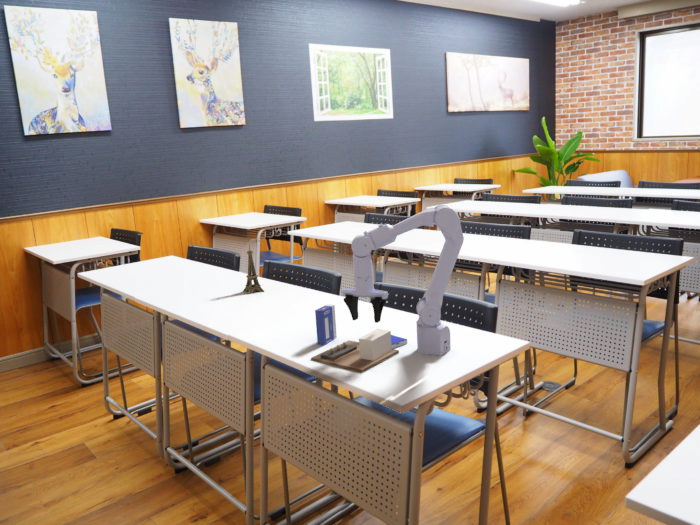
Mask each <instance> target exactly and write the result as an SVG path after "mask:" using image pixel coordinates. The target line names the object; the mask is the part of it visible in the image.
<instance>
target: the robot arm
mask: <svg viewBox="0 0 700 525" xmlns="http://www.w3.org/2000/svg"><path fill="white" fill-rule="evenodd" d="M434 225H435V226H436V227H437V228H438V229H439V230H440V231H441V232H440V233H441V234H442V236H443V238H444V240H445V241H444V244H443V246H442V250H441V252H440V254H439V257H438V260H437V261H436V266H435V267H434V271H433V273H432V277H431V279H430V282H429V284H428V287H427V289H426V291H425V292H424V293H423V296H422V298H421V299H420V300H419V301H418V302H417V303H416V306H415V307H416V308H415V310H416V313H417V315H418V319H417V321H416V339H417V340H416V341H417V342H416V343H417V346H416V347H417V352H419V353H421V354H427V355H428V354H429V355H436V356H440V357H441V356H442V355H444V354H446V353H448V352H449V351H451V331H450V328H449V326H447V325H444V324H442V322H441V318H442V313H441V309H442V305H443V301H444V300H443V298H444V295H445V292H446V289H447V286H448V283H449V281H450V278H451V275H452V274H453V270H454V268H455V266H456V265H455V264H456V262H457V260H458V257H459V254H460V251H461V249H462V246H463V244H464V240H465V238H464V233H463V229H462V225H461V219H460V217H459V215H458V214H457V213H456V211H455V210H454V209H453V208H450V207H449V206H447V205H445V204H439V205H437V206H435V207H429V208H426V209H425V210H422V211H420V212H418V213H416V214H414V215H412V216H410V217H408V218H406V219H404V220H402V221H400V222H398V223H395V224H394V225H391V224H389V223H385V224H383V223H379V224H378V226H377V227H376V228H373V229H372V230H369V231H367V230H366V231H363V234H359V235H356V236H355V237H354V238H353V239H352V241H351V245H350V246H351V248H350V249H351V251H352V270H353V284H354V288H343V289H341V294H342V297H344V298H343V301H344V303H345V305H346V306H347V309H348V310H349V313H350V315H351V318H352V321H356V320H358V319H359V309H358V308H359V298H361V297H362V298H373V299H372V300H371V301H370V302H371V304H372V309H373V318H374V323H379V322H381V318H382V312H383V309H384V305H385V304H386V302H387V299H389V295H388V294H389V293H388V292H389V291H387V290H381V289H375V287H374V270H373V268H374V267H373V259H372V256H371V254H372V253H371V252H372V251H376V250H379V249H381V248H383V247H386V246H388V245H390V244H393V243H395V242H396V240H397V237H398V236H400V235H402V234H404V233H407V232H409V231H414V230H415V229H417V228H419V227H423V226H424V227H431V228H434Z"/></svg>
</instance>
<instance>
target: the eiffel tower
mask: <svg viewBox="0 0 700 525" xmlns="http://www.w3.org/2000/svg"><path fill="white" fill-rule="evenodd" d="M250 247H251V246H250V245H248V249H249V250H247V251H246V254H248V255H247V256H248V257H247V258H248V259H247V261H248V262H247V275H246V278H247V279H246V284H245V285H244V286H245V287H244V288H243V291H242V292H248V295H252V293H253V292H255V291H257V292H259V293H265V290H264V289H263V288H262V287H261V286H262V285H260V282H259V279H258V277H259V276H258V274H257V273H256V269H255V263H254V259H253V254H254V252H253V250H251V248H250ZM252 282H253V283H252Z"/></svg>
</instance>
